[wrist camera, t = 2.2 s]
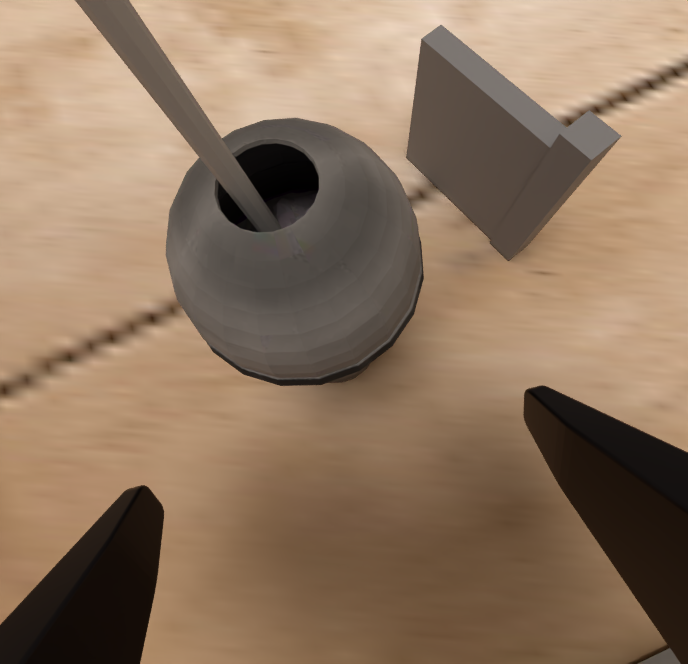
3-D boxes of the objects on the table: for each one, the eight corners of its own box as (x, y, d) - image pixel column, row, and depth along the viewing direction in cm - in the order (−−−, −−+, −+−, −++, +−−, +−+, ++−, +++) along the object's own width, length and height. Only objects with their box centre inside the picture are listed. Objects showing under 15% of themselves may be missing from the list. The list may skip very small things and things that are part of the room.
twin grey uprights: (914, 607, 18) (1444, 783, 9) (888, 634, 17) (1405, 841, 9) (423, 144, 25) (450, -3, 17) (403, 160, 25) (419, 19, 17)
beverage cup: (391, 415, 21) (575, 307, 2) (265, 398, 22) (-484, 196, 3) (404, 293, 23) (573, -406, 4) (287, 281, 24) (-84, -356, 4)
